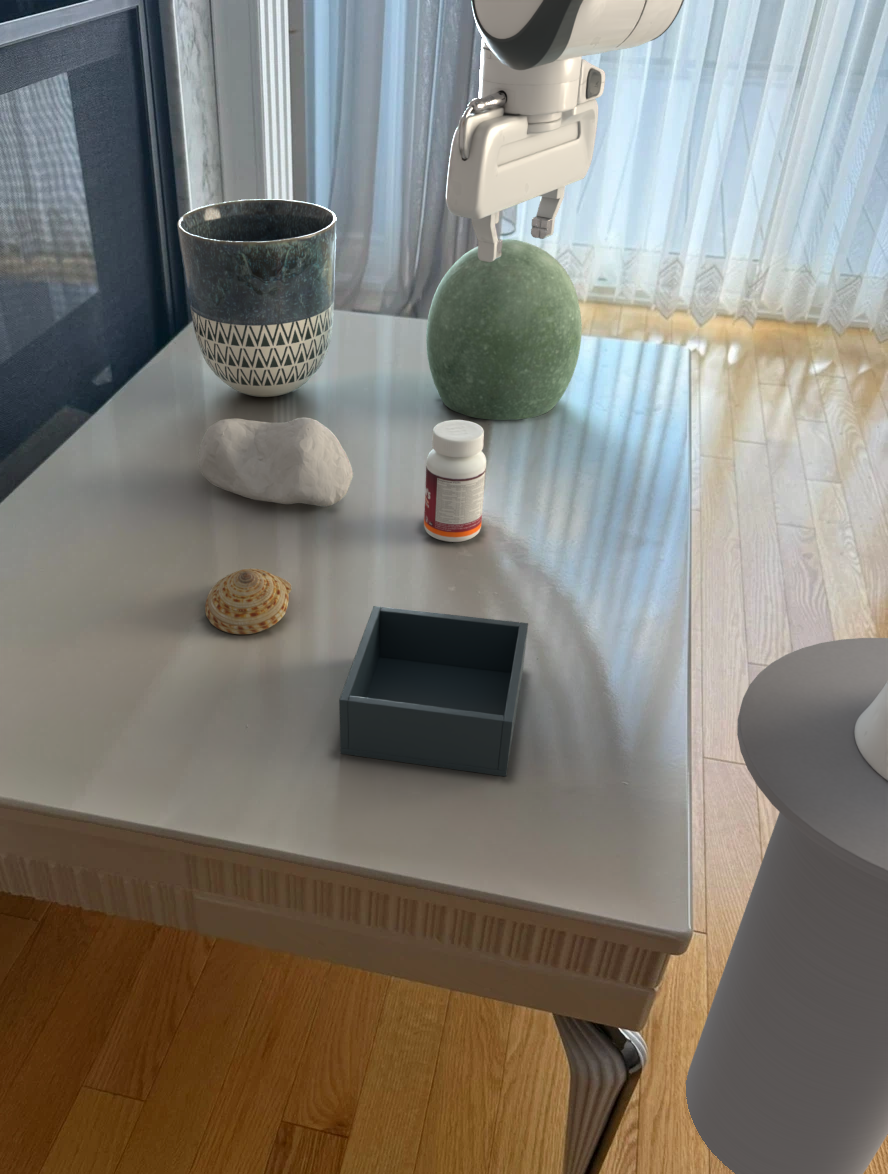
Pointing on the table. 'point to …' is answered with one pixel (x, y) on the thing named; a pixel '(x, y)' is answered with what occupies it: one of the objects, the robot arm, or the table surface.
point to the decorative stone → (276, 461)
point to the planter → (261, 290)
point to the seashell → (247, 601)
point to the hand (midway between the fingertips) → (516, 247)
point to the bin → (434, 690)
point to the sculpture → (504, 333)
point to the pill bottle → (455, 481)
